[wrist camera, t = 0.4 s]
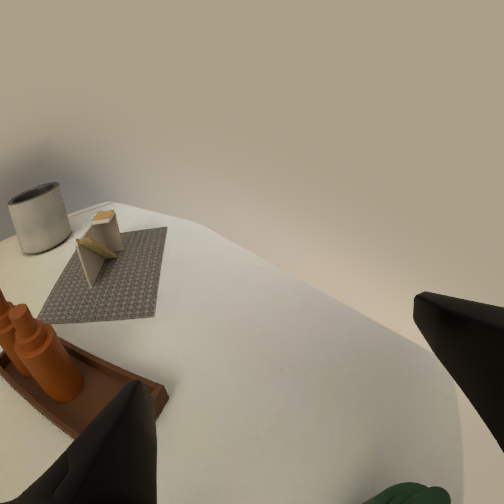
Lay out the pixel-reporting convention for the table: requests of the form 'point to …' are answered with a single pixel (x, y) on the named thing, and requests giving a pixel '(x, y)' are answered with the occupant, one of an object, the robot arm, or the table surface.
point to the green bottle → (411, 495)
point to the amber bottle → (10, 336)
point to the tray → (91, 396)
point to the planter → (40, 218)
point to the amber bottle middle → (45, 356)
